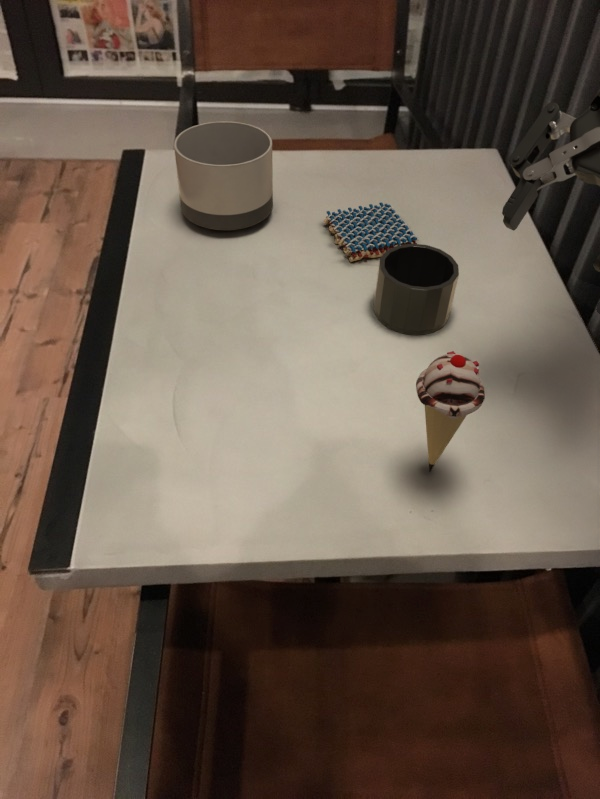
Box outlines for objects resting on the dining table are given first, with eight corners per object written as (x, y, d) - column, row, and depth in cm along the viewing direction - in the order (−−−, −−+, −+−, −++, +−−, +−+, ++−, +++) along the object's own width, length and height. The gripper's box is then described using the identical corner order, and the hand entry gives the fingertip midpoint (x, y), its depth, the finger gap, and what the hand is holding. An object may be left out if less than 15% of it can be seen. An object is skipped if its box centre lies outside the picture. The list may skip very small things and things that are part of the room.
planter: (183, 241, 92) (175, 168, 84) (180, 193, 101) (172, 123, 93) (278, 235, 93) (278, 163, 86) (267, 188, 102) (266, 119, 95)
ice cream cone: (418, 503, 63) (447, 388, 52) (388, 459, 66) (409, 342, 56) (470, 484, 65) (509, 368, 54) (438, 441, 68) (468, 325, 57)
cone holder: (458, 302, 84) (469, 258, 79) (432, 344, 78) (442, 299, 74) (391, 280, 87) (398, 236, 82) (361, 318, 81) (366, 273, 77)
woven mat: (349, 265, 89) (350, 252, 87) (321, 223, 96) (321, 210, 94) (421, 252, 91) (424, 239, 90) (389, 212, 98) (390, 199, 97)
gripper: (582, 17, 55) (469, 196, 57) (765, 69, 48) (628, 270, 50) (592, 69, 61) (490, 228, 64) (755, 121, 54) (634, 297, 57)
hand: (551, 247), depth 57 cm, fingers open, 8 cm apart
